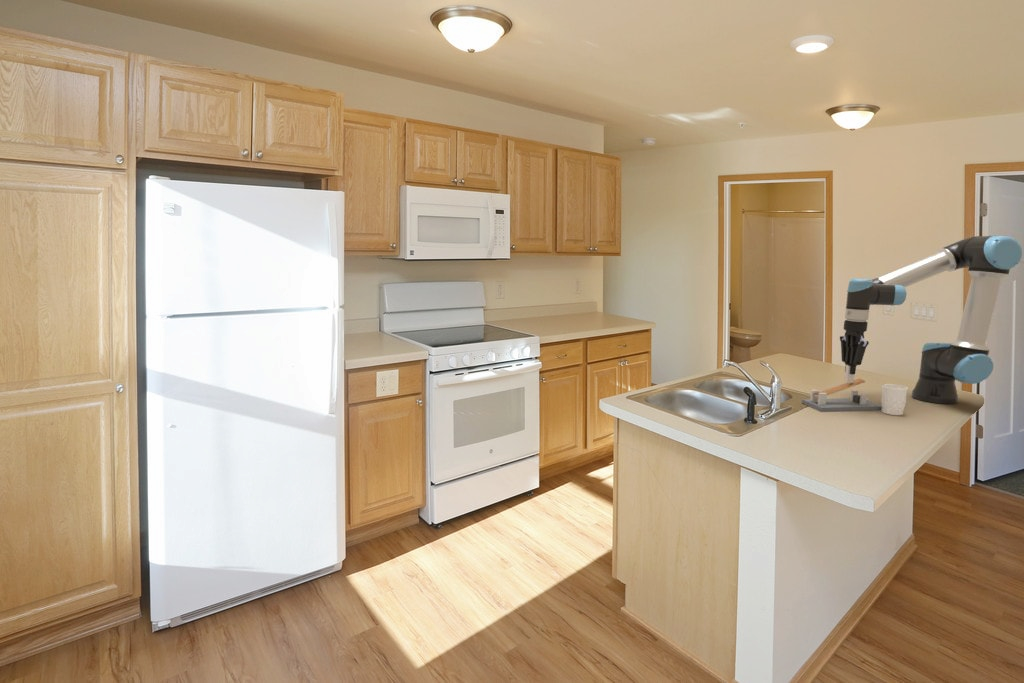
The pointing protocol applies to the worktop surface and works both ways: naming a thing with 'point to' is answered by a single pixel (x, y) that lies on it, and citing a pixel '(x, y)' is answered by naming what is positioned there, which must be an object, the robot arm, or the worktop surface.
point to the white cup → (893, 399)
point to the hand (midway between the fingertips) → (848, 381)
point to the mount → (841, 403)
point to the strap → (840, 387)
